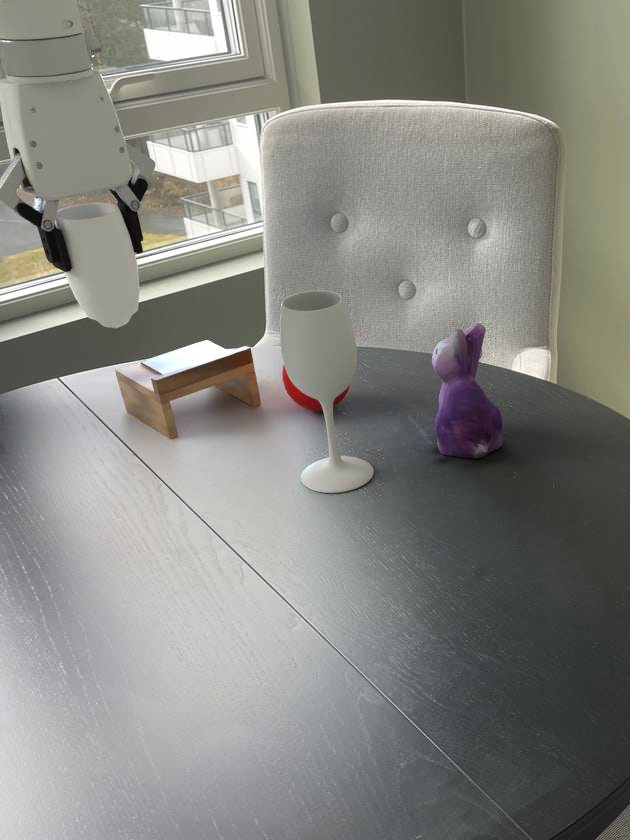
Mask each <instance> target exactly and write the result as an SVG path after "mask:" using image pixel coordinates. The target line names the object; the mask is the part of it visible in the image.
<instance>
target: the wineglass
mask: <svg viewBox="0 0 630 840" xmlns="http://www.w3.org/2000/svg"><path fill="white" fill-rule="evenodd" d="M279 311H280V312H279V316H280V317H279V339H280V340H279V343H280V352H281V356H282V362H283V364H284V366H285V369H286V372H287V375H288V377H289V378H290V380H291V382H292V383H293V384H294V385H295V386H296V387H297V388H298V389H299V390H300V391H301V392H303V393H304V394H306V395H308V396H309V397H312V398H314V399H317V400H318V401H319V402H320V403H321V406H322V408H323V410H322V412H323V416H324V421H325V426H326V434H327V443H328V457H325V458H322V459H319V460H317V461H314V462H313V463H311V464H309V465H308V466H307V467H306V468H305V469H304V470H303V471H302V473H301V475H300V481H301V483H302V484H303V486H305V487H306V488H307V489H309V490H311V491H313V492H318V493H323V494H337V493H338V494H339V493H345V492H350V491H352V490H356V489H358V488H361V487H363V486H364V485H366V484H367V483H368V482H370V481H371V479H373V476H374V472H375V471H374V467H373V465H372V464H371V463H370V462H369V461H367V460H364V459H362V458H360V457H356V456H350V455H341V452H340V448H339V444H338V438H337V434H336V433H337V432H336V428H335V420H334V419H335V418H334V407H333V402H334V399H335V398H336V397H337V396H338V395H340V394H341V393H342V392H344V391H345V390H346V389H347V387H348V386H349V385H350V386H351V384H352V382H353V380H354V378H355V375H356V373H357V369H358V350H357V348H358V347H357V342H356V335H355V331H354V327H353V324H352V319H351V317H350V316H351V315H350V313H349V311H348V307H347V305H346V302H345V300H344V297H343V296H342V295H341V294H340V293H338V292H335V291H332V290H325V289H315V290H314V289H312V290H306V291H304V290H303V291H299V292H296V293H293V294H290V295H288V296H286V297H285V298H284V299H283V300H282V301H281V303H280V310H279Z"/></svg>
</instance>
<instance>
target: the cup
mask: <svg viewBox="0 0 630 840" xmlns="http://www.w3.org/2000/svg"><path fill="white" fill-rule="evenodd" d="M55 225H56V228H58V229H60V230H61V231H62V233H63V237H64V240H65V244H66V248H67V251H68V255H69V258H70V262H71V265H72V269H71V271H69V272H64V271H63V273H64V276H65V278H66V281H67V283H68V285H69V287H70V289H71V291H72V294H73V296H74V298H75V300H76V301H77V303H78V305H79V306H80V308H81V309H82V311H83V312H84V314H85V315H86V317H87V318H88V319H91V320H93V321H96V322H98V323H99V324H100V325H101V326H102V327H105V328H111V329H119V328H121V327H123V326H125V325H127V324H128V323H129V322H130V320H131V319H132V316H134V314H136V313H137V312H138V311H139V304H140V303H139V302H140V277H139V265H138V260H137V256H136V253H134V249H133V245H132V242H131V238H130V235H129V232H128V230H127V227H126V225H125V222H124V220H123V217H122V214H121V212H120V209H119V208H118V205H117V204H113V203H108V202H89V203H88V202H87V203H79V204H74V205H70V206H66V207H63V208H60V209H59V210H58V209H57V214H56V219H55Z"/></svg>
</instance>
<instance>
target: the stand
mask: <svg viewBox="0 0 630 840" xmlns="http://www.w3.org/2000/svg"><path fill="white" fill-rule="evenodd" d="M114 372H115V376H116V380H117V383H118V387H119V391H120V394H121V397H122V400H123V403H124V408H125V411H126V413H128V414H129V415H131V416H133V417H134V418H136V419H137V420H139V421H140V422H142V423H144V424H145V425H147V426H149V428H152V429H153V430H155V431H157V432H158V433H160V434H161V435H163V436H164V437H166V438H167V439H170V440H172V439H174V438H177V437H179V433H178V429H177V424H176V421H175V417H174V413H173V409H172V405H171V402H172V401H174V400H178V399H180V398H183V397H186V396H188V395H191V394H194V393H197V392H199V391H202V390H205V389H208V388H210V387H215V388H217V389H219V390H221V391H223V392H225V393H227V394H229V395H230V396H233V397H234V398H236V399H238V400H240V401H242V402H244V403H246V404H247V405H249V406H251V407H253V408H255V407H258V406H261V405H262V399H261V394H260V389H259V384H258V379H257V374H256V369H255V363H254V358H253V352H252V348H251V347H250V346H248V345H244V346H240V347H237V348H235V349H232V350H229V349H226V348H224V347H221V346H220V345H218V344H215V343H213V342H212V341H210V340H207V339H206V340H203V341H199V342H196V343H193V344H189V345H186V346H184V347H181V348H178V349H174V350H171V351H168V352H166V353H163V354H160V355H156V356H153V357H150V358H147V359H145V360H141V361H138V362H136V363H133V364H129V365H127V366H126V365H125V366H124V367H121V368H117V369H115V370H114Z"/></svg>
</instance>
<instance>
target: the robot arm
mask: <svg viewBox="0 0 630 840" xmlns="http://www.w3.org/2000/svg"><path fill="white" fill-rule="evenodd" d="M77 1H78V0H0V58H1V62H2V66H3V69H4V72H5V75H6V78H1V79H0V110H1V116H2V123H3V128H4V135H5V138H6V145H7V149H8V152H9V157H10V163H9V164H8V166H7V167H6V169H5V170H4V172H3V174H2V175H1V177H0V202H1V203H2V204H4V205H5V206H7V208H9V209H10V210H12V211H13V212H14V213H15V214H16V215H18V216H20V217H21V218H23V219H24V220H25V221H27V222H29V223H30V224H31V225H33V226H34V227H36V228H37V231H38V234H39V238H40V241H41V245H42V249H43V251H44V255H45V258H46V260H47V261H48V263H50V264H52V266H53V267H54V268H56V269H58V270H60V271H62V272H63V273H64V272H69V271H71V269H72V265H71V262H70V258H69V255H68V251H67V248H66V244H65V240H64V237H63V233H62V231H61V230H60V229H58V228H56V225H55V219H56V214H57V211H58V208H59V202H60V201H61V200H65V199H70V198H76V197H80V196H85V195H90V194H93V193H98V192H102V191H107V192H108V193H109V194H110V195H111V197H112V198H113V199H114V201H115V202H116V206H117V207H118V208H119V209H120V212H121V214H122V217H123V220H124V222H125V225H126V227H127V230H128V232H129V235H130V238H131V242H132V245H133V249H134V253H135V254H137V255H139V254H143V253H144V249H143V244H142V242H143V241H144V234H143V231H142V227H141V222H140V218H139V214H138V213H139V212H138V211H140V210H141V207H142V204H141V202H142V200H143V198H144V196H145V194H146V192H147V190H148V188H149V182H150V181H151V179H152V176H153V174H154V171H155V169H156V161H155V160H154V159H152V158H151V157H149V156H148V155H146V154H145V153H144V152H142V151H140V150H139V149H137V148H135V146H133V145H131V144H129V143H128V142H126V140H125V135H124V133H123V130H122V126H121V123H120V119H119V116H118V113H117V111H116V108H115V106H114V105H115V104H114V102H113V100H112V97H111V95H110V93H109V90H108V88H107V85H106V83H105V80H104V79H103V76H102V75H101V72H100V71H99V70H97V69H94V68H93V65H94V59H93V57H95V55H100V54H102V53H103V48H102V44H101V41H100V39H99V38H98V37H95V36H94V37H90V36H88V34H87V32H86V31H84V27H83V22H82V18H81V14H80V9H79V6H78V2H77ZM132 164H133V166H134V170H132ZM132 171H133V172H132ZM18 188H20V190H21V191H23V192H25V193H27V194H33V197H32V204H31V205H30V204H28V203H27V202H25V200H23V199H22V198H21V197H19V196H18V194H17V190H18Z"/></svg>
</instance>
